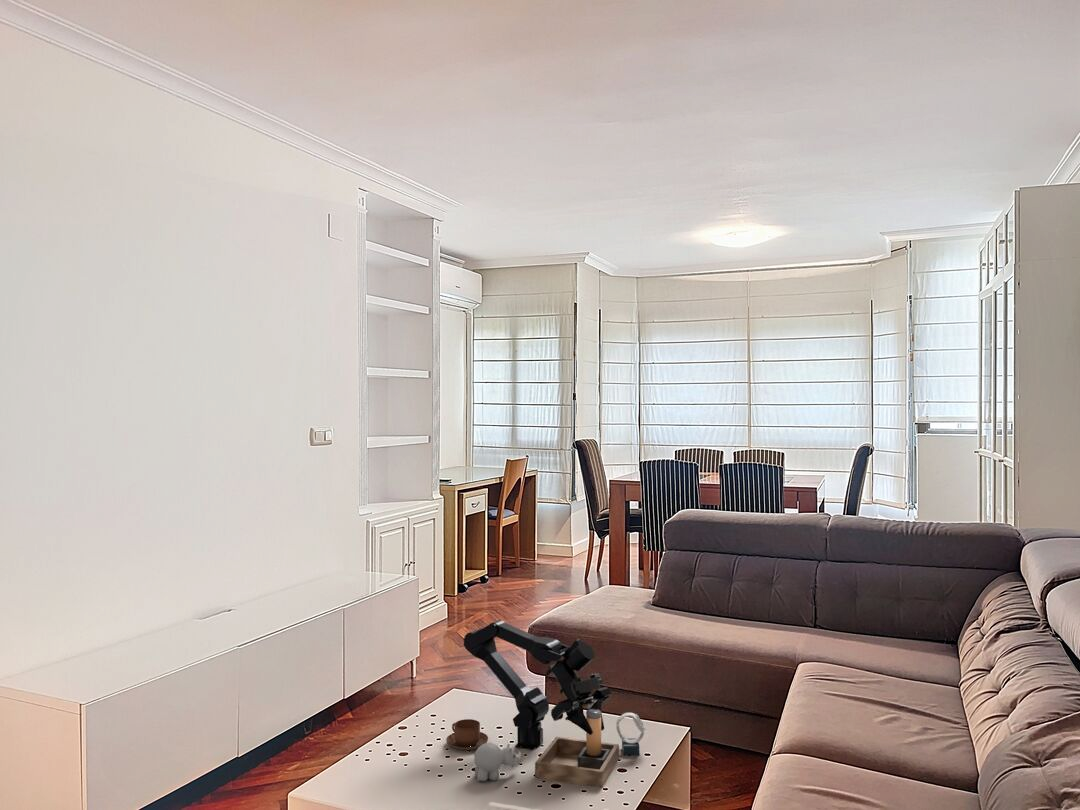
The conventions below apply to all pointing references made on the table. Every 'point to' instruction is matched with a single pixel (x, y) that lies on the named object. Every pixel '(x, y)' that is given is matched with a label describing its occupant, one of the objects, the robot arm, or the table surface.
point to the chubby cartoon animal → (493, 760)
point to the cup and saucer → (466, 735)
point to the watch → (631, 744)
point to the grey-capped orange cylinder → (595, 739)
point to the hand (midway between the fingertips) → (597, 731)
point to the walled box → (576, 762)
